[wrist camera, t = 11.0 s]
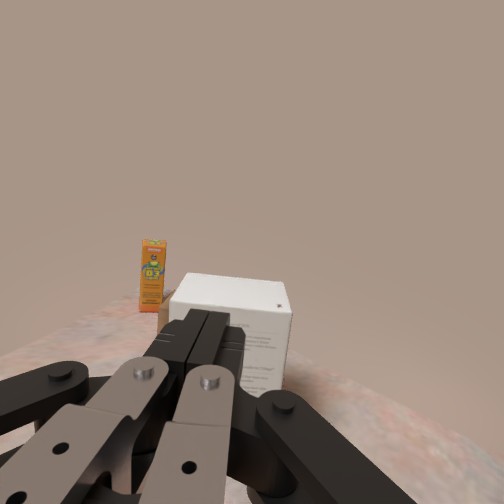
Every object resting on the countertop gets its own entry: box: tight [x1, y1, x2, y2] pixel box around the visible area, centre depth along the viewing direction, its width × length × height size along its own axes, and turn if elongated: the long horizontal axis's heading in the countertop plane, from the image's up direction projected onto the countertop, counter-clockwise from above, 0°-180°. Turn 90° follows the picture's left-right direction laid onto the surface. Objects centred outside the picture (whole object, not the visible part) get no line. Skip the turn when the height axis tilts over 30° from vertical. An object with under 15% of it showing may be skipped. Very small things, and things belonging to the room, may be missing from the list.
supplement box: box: [139, 239, 166, 312], centre depth 50 cm, size 3×3×10 cm
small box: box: [169, 273, 293, 398], centre depth 27 cm, size 8×6×13 cm
